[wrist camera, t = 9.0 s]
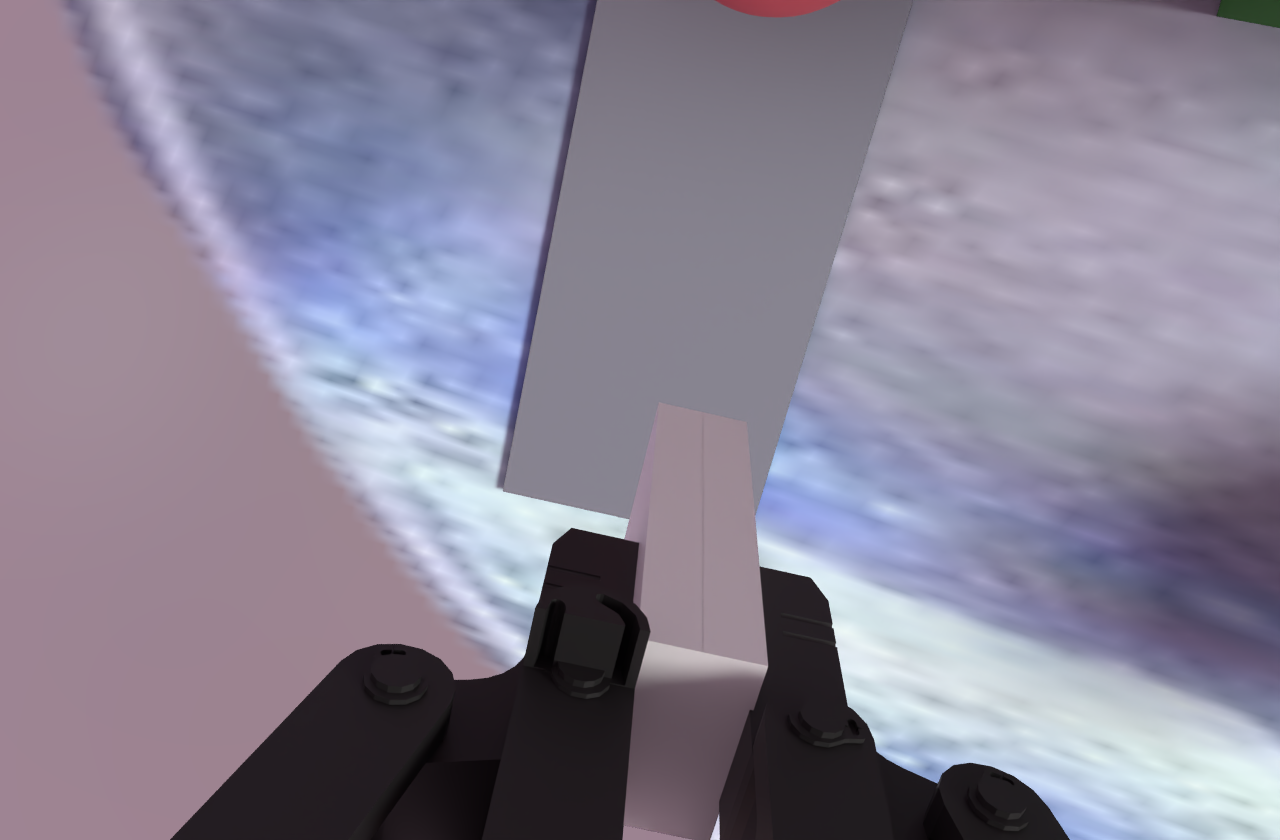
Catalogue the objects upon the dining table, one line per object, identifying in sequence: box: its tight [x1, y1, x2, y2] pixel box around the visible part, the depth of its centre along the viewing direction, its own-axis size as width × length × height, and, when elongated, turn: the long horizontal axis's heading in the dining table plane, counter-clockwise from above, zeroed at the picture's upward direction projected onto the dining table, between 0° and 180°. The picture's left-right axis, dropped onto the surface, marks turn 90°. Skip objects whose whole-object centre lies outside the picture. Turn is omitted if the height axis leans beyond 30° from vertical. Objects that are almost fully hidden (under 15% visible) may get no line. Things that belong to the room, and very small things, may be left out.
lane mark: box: [503, 0, 913, 519], centre depth 29 cm, size 28×8×1 cm, turn 168°
